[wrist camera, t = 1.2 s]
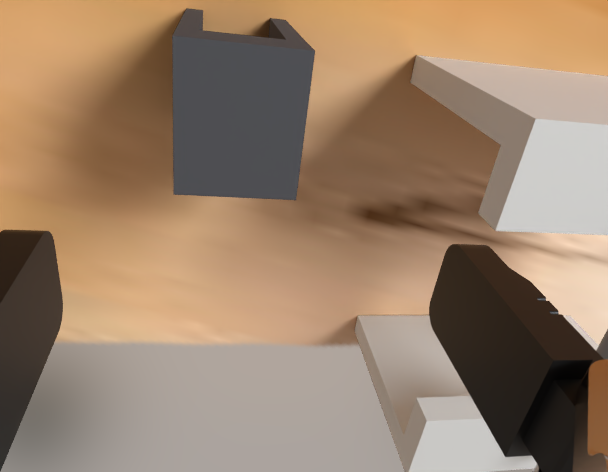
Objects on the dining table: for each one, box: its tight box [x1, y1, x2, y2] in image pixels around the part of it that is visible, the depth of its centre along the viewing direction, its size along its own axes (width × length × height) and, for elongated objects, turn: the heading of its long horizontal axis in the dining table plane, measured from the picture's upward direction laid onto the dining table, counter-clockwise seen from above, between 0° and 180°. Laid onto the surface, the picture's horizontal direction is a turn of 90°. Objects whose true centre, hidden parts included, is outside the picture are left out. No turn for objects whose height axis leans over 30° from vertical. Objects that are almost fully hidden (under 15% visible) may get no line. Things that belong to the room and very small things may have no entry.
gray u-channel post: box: [172, 9, 315, 200], centre depth 23 cm, size 6×5×9 cm
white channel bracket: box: [355, 55, 608, 472], centre depth 28 cm, size 20×18×14 cm
